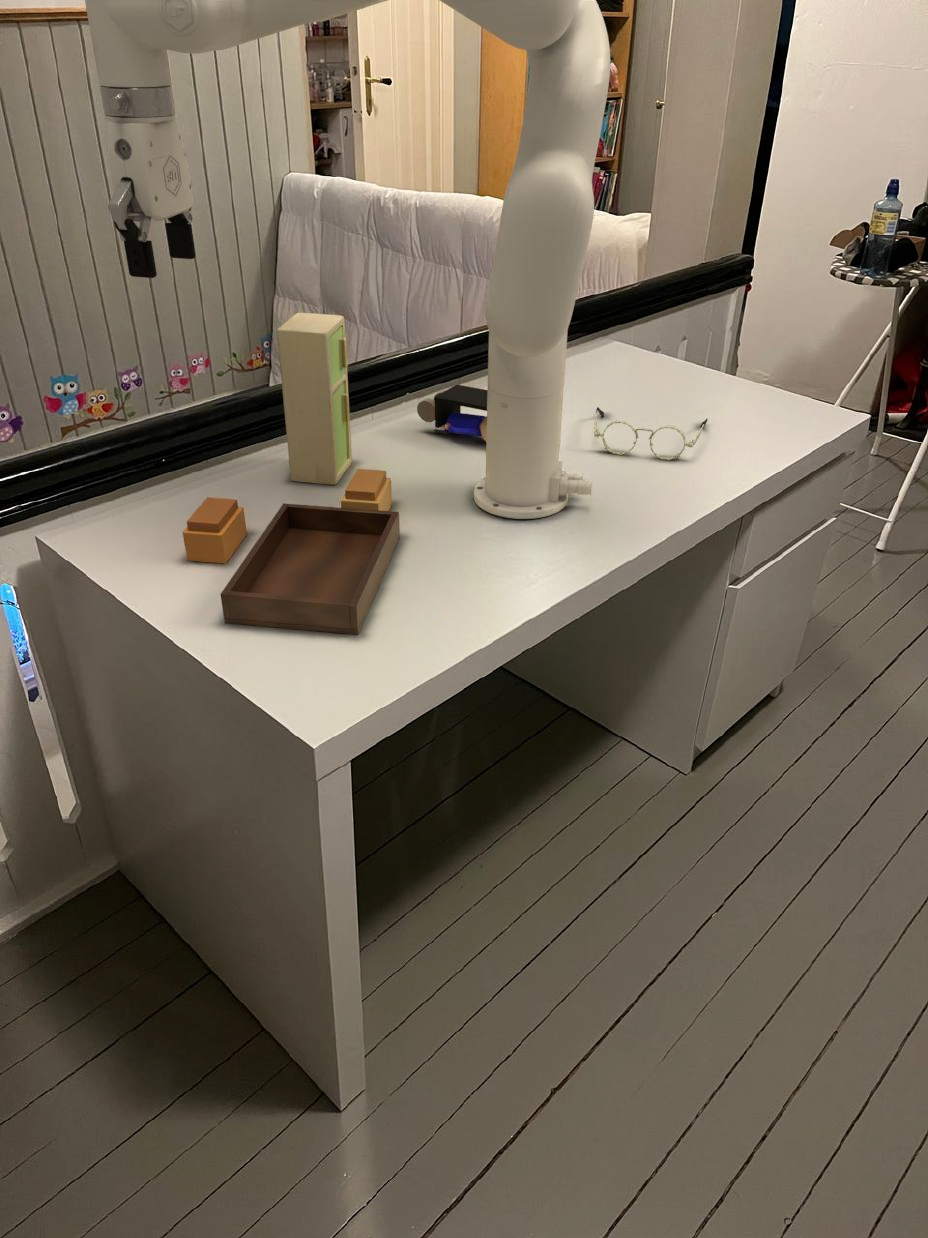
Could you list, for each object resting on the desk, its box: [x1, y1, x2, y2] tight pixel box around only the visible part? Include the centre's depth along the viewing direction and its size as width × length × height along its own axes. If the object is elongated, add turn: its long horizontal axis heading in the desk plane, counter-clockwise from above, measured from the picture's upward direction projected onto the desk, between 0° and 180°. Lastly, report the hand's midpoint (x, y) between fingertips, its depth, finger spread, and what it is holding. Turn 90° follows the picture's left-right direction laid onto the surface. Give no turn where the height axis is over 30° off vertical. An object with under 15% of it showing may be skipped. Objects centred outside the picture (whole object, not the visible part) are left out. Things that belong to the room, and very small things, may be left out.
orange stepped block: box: [182, 496, 248, 565], centre depth 113 cm, size 5×8×5 cm, turn 172°
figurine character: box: [416, 384, 488, 442], centre depth 142 cm, size 7×8×15 cm
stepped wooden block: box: [340, 468, 393, 511], centre depth 120 cm, size 5×8×5 cm, turn 172°
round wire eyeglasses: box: [593, 406, 708, 461], centre depth 142 cm, size 17×15×5 cm
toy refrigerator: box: [276, 312, 353, 486], centre depth 127 cm, size 8×7×21 cm
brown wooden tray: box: [219, 502, 401, 635], centre depth 108 cm, size 15×22×4 cm
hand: (163, 266), depth 113 cm, fingers open, 9 cm apart
